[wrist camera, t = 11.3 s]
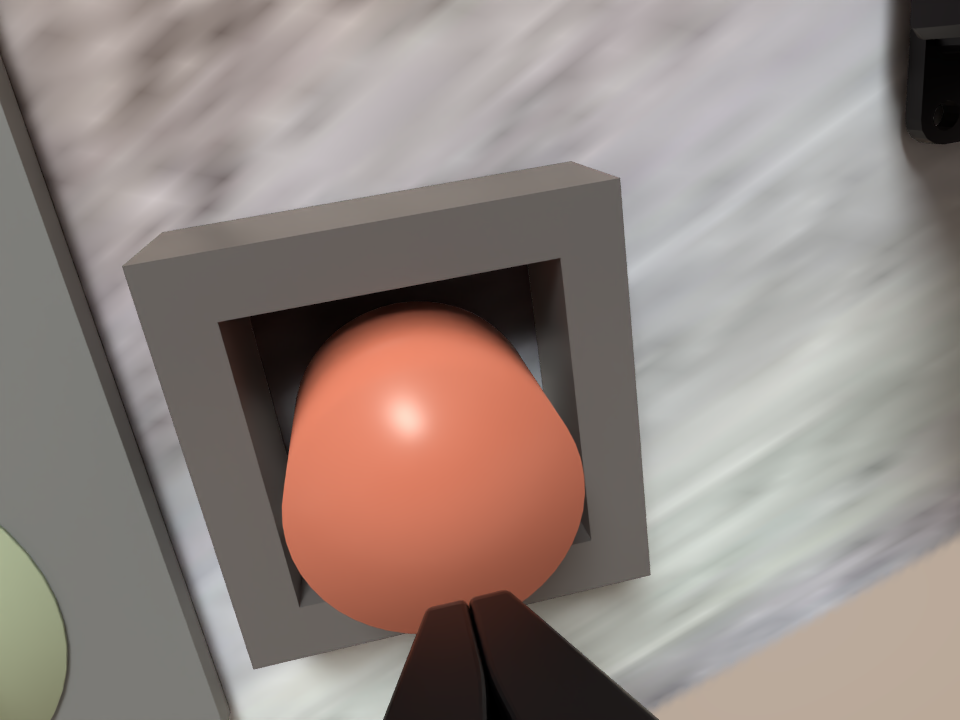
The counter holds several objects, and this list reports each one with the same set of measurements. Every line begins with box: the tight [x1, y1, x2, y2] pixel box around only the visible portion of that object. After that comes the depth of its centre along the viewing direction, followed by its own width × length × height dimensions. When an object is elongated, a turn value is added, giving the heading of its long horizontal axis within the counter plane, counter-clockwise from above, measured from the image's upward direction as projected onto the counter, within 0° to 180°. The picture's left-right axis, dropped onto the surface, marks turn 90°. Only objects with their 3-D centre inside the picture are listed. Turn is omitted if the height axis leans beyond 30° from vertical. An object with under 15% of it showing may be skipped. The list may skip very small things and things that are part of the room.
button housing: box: [122, 161, 650, 669], centre depth 13 cm, size 7×7×2 cm
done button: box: [282, 301, 585, 634], centre depth 11 cm, size 4×4×3 cm
